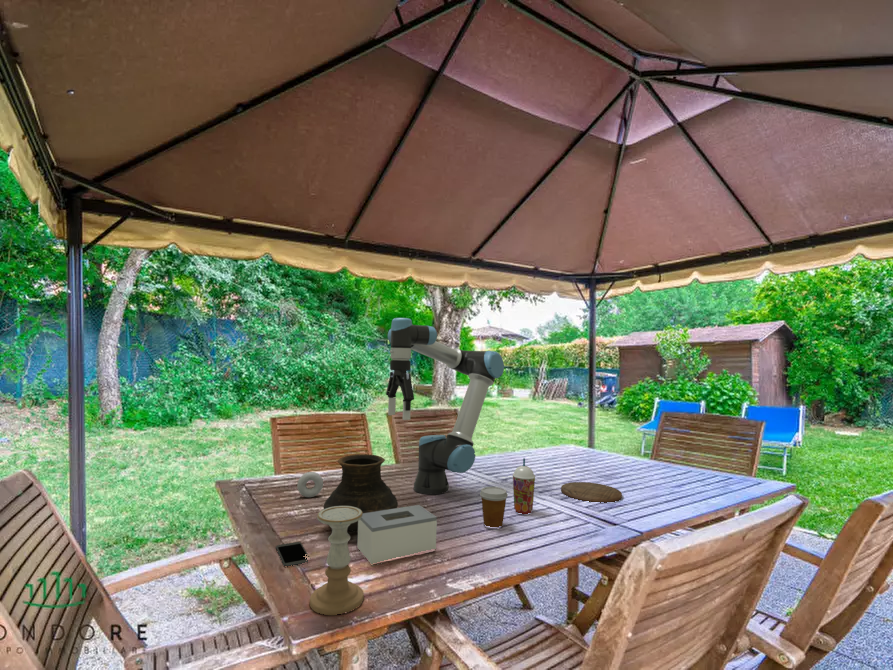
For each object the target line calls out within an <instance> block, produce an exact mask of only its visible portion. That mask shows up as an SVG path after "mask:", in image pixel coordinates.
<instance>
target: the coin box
mask: <svg viewBox="0 0 893 670" xmlns="http://www.w3.org/2000/svg"><path fill="white" fill-rule="evenodd" d="M437 518H438V517H437V515H435V514H433V513H431V512H430V511H429V510H427V509H426V508H425V507H423V506H422V505H420V504H415V505H410V506H404V507H397V508H395V509H389V510H382V511H376V512H369V513H363V516H362V518H361V519H360V520H359V521H358V532H357V544H356V545H357V546H356V548H357V547H358V549H359V550H360V551H361V552H362V553H363V555H364V556H365V557H366V558H367V559H368V561H369V562H370V563H371V564H373V563H377V562H380V561H384V560H388V559H392V558H396V557H401V556H405V555H410V554H414V553H418V552H421V551H426V550H431V549H436V550H437V529H438V528H437V521H438V520H437ZM358 549H357V550H358ZM359 550H358V551H359ZM360 551H359V552H360ZM363 555H362V556H363ZM364 556H363V557H364ZM365 557H364V558H365ZM368 561H367V562H368ZM369 562H368V563H369Z"/></svg>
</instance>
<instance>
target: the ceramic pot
mask: <svg viewBox="0 0 893 670" xmlns="http://www.w3.org/2000/svg"><path fill="white" fill-rule="evenodd" d="M385 461H386V458H384V457H382V456H380V455H376V454H370V453H369V454H368V453H367V454H366V453H362V454H356V453H355V454H351V455H350V454H349V455H345V456H342V457H341V458H339V459H338V461H337V463H338V464H339V465H340V466H341V471H342V472H341V479H340V480H341V481H340V483H339V484H337V487H336V488H335V489H334V490H333V491H332V492H331V493H330V495H329V496H328V498H327V499H326V500H325V502H324V503H323V509H326V508H329V507H334V506H352V507H356V508H359V509H361V510H362V512H363V513H369V512H376V511H382V510H389V509H395V508H399V504H398V500H397V497H396V495H394V494H393V491H392V489H391V488H390V487H389V486H388V485H387V484H386V483H385V481H384V480H383V479H382V473H381V470H382V469H381V468H382V467H381V466H382V464H384V463H385ZM347 531H349V532H354V533H358V521H357V522H354V523H351V524H350V525H349V526H348V528H347Z"/></svg>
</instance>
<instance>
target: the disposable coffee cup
mask: <svg viewBox="0 0 893 670" xmlns="http://www.w3.org/2000/svg"><path fill="white" fill-rule="evenodd" d="M479 495H480V498H481V507H482V509H481V511H482V518H483V525H484V524H485V525H486V526H490V527H499V526H502V525H504V518H505V512H506V505H507V504H506V503H507V499H508V495H509V494H508V492H507V490H506V489H504V488H502V487H499V486H498V487H496V486H486V487H483V488H481V490H480V493H479ZM502 527H503V526H502Z"/></svg>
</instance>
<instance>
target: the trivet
mask: <svg viewBox="0 0 893 670" xmlns="http://www.w3.org/2000/svg"><path fill="white" fill-rule="evenodd" d="M560 491H561V494H563V496H565V495H566V497H567V496H568V497H567V498H569V497H570V499H572V498H574V499H573V500H575V499H578V500H577V501H580V500H582V501H581V502H584V501H589V502H588V503H591V502H600V503H599V504H602V503H601V502H604V503H603V504H608V503H607V502H614V503H616V502H615V501H618V502H620V501H621V500H622V497H623V493H622V491H620V490H619V489H617V488H615V487H613V486H610V485H606V484H602V483H597V482H596V483H595V482H588V481H587V482H586V481H574V482H567V483H563V484H562V485H561V486H560ZM619 500H620V501H619Z"/></svg>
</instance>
